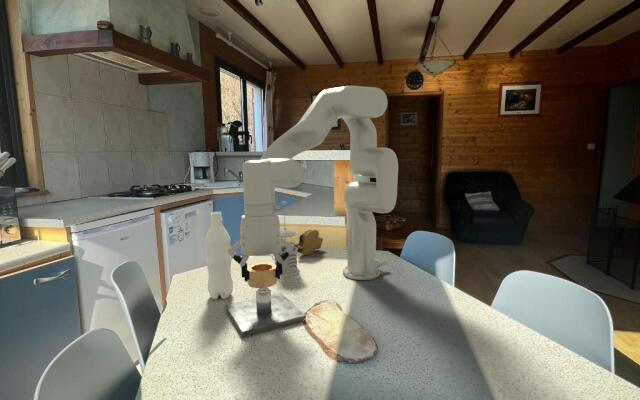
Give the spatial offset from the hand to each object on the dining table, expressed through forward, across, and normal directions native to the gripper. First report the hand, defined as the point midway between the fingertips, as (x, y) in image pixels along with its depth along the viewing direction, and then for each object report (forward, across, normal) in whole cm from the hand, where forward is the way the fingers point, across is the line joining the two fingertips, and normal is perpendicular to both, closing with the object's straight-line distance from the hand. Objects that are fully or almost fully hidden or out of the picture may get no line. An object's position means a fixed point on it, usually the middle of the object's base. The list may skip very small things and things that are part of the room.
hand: (262, 278), depth 89 cm
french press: (+10, -8, -31) cm, 34 cm away
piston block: (+10, 0, 0) cm, 10 cm away
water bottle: (+10, +12, -15) cm, 22 cm away
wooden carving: (+10, -20, -51) cm, 55 cm away
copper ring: (+1, 0, 0) cm, 1 cm away
